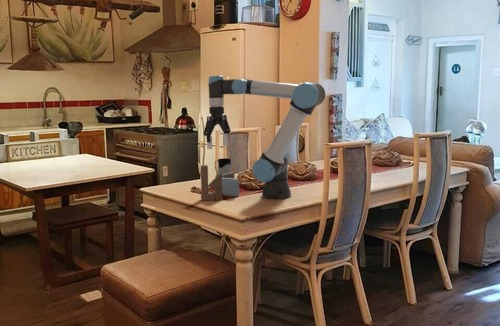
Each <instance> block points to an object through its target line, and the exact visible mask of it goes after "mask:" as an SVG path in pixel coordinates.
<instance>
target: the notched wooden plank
mask: <svg viewBox="0 0 500 326" xmlns="http://www.w3.org/2000/svg"><path fill="white" fill-rule="evenodd" d="M219 174H220V173H218V174H217V173H216V175H215V178H216V177H217V176H218V175H219ZM215 178H214V179H215ZM222 178H233V179H236V178H235V172H233V171H231V172H230V173H226V174H222Z"/></svg>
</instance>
